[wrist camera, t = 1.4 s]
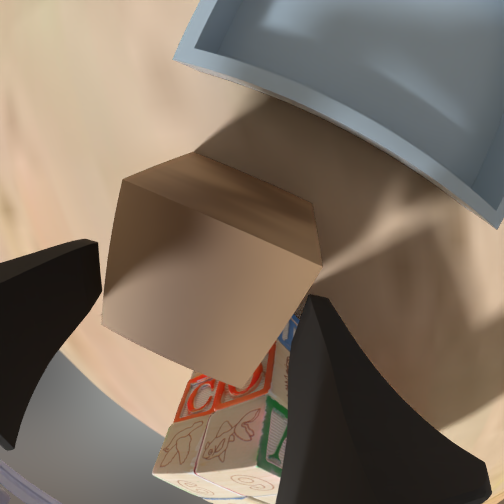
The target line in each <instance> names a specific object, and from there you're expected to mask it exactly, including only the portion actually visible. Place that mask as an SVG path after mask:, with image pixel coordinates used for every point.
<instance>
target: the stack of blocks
mask: <svg viewBox="0 0 504 504" xmlns="http://www.w3.org/2000/svg"><path fill="white" fill-rule="evenodd" d="M299 321H300V320H299V319H298V318H297V317H296V316H295V315H294V314H293V315H292V317H291V318H290V320H289V321H288V323H287V324H286V326H285V328H284V329H283V331H282V332H281V334H280V335H279V337H278V338H277V340H276V341H275V342H274V344H273V345H272V347H271V348H270V350H269V351H268V353H267V354H266V356H265V357H264V359H263V360H262V361H261V363H260V364H259V366H258V367H257V369H256V370H255V371H254V373H253V374H252V376H251V377H250V378H249V380H248V381H247V383H246V384H245V385H244V387H243V388H242V389H240V388H237V387H234V386H232V385H229V384H226V383H224V382H221V381H219V380H216V379H214V378H211V377H209V376H206V375H204V374H201V373H199V372H196V371H194V370H193V373H192V376H191V380H189V381H188V383H187V386H186V389H185V391H184V394H183V397H182V399H181V402H180V404H179V407H178V410H177V413H176V416H175V419H174V423H173V424H172V425H171V426H170V427H169V429H168V432H167V435H166V437H165V440H164V443H163V445H162V448H161V450H160V453H159V455H158V458H157V461H156V463H155V466H154V468H153V472H152V474H153V475H154V476H156V477H157V478H160V479H161V480H164V481H165V482H167V483H169V484H172V485H174V486H176V487H178V488H180V489H182V490H185V491H186V492H189V493H191V494H193V495H196V496H199V497H202V499H204V500H206V501H209V502H211V503H214V504H275V503H276V498H277V493H278V488H279V483H280V478H281V472H282V467H283V460H284V454H285V447H286V440H287V420H288V365H289V357H290V350H291V342H292V339H293V337H294V334H295V331H296V329H297V326H298V323H299Z"/></svg>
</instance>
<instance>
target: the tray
mask: <svg viewBox="0 0 504 504" xmlns="http://www.w3.org/2000/svg"><path fill="white" fill-rule="evenodd" d="M172 60H175V61H177V62H179V63H182V64H184V65H186V66H189V67H191V68H193V69H195V70H198V71H200V72H204V73H207V74H210V75H213V76H217V77H220V78H223V79H226V80H229V81H232V82H235V83H238V84H241V85H243V86H246V87H249V88H252V89H254V90H257V91H260V92H262V93H265V94H267V95H270V96H272V97H275V98H277V99H280V100H282V101H284V102H287V103H289V104H291V105H294V106H296V107H298V108H301V109H303V110H305V111H307V112H309V113H312V114H314V115H316V116H318V117H320V118H322V119H324V120H326V121H328V122H330V123H332V124H334V125H336V126H338V127H340V128H342V129H344V130H346V131H348V132H350V133H352V134H353V135H355V136H357V137H359V138H361V139H363V140H364V141H366V142H368V143H370V144H371V145H373V146H375V147H377V148H378V149H380V150H382V151H384V152H385V153H387V154H389V155H390V156H392V157H393V158H395V159H397V160H398V161H400V162H401V163H403V164H405V165H406V166H408V167H409V168H411V169H412V170H414V171H415V172H417V173H418V174H420V175H421V176H423V177H424V178H426V179H427V180H429V181H430V182H431V183H433V184H434V185H436V186H437V187H439V188H440V189H441V190H443V191H444V192H445V193H447V194H448V195H449V196H451V197H452V198H453V199H455V200H456V201H457V202H459V203H460V204H461V205H463V206H464V207H465V208H467V209H468V210H470V211H471V212H473V213H474V214H475V215H477V216H478V217H480V218H481V219H483V220H484V221H486V222H487V223H488V224H490V225H491V226H492V227H494V228H495V229H498V227H499V226H500V224H501V222H502V220H503V218H504V0H200V2H199V4H198V6H197V8H196V10H195V12H194V14H193V16H192V18H191V20H190V22H189V24H188V26H187V28H186V30H185V32H184V35H183V37H182V39H181V41H180V43H179V46H178V48H177V50H176V52H175V55H174V57H173V59H172Z"/></svg>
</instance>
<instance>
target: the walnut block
mask: <svg viewBox="0 0 504 504" xmlns="http://www.w3.org/2000/svg"><path fill="white" fill-rule="evenodd" d="M322 267H323V265H322V258H321V252H320V246H319V239H318V233H317V228H316V222H315V216H314V211H313V205H312V203H310V202H308V201H306V200H304V199H302V198H300V197H298V196H295V195H293V194H291V193H289V192H287V191H285V190H282V189H280V188H278V187H276V186H274V185H271V184H269V183H267V182H265V181H262V180H260V179H258V178H255V177H253V176H251V175H248V174H246V173H244V172H241V171H239V170H237V169H234V168H232V167H230V166H227V165H225V164H222V163H220V162H217V161H215V160H212V159H210V158H207V157H205V156H202V155H200V154H197V153H195V152H191V153H188V154H186V155H183V156H180V157H177V158H175V159H172V160H169V161H167V162H164V163H161V164H159V165H156V166H154V167H151V168H149V169H146V170H144V171H141V172H139V173H136V174H134V175H132V176H129V177H127V178H125V179H123V180H122V184H121V189H120V193H119V198H118V203H117V208H116V213H115V218H114V223H113V229H112V235H111V241H110V247H109V254H108V261H107V269H106V277H105V286H104V296H103V307H102V321H101V325H103V326H104V327H106V328H108V329H110V330H111V331H113V332H115V333H117V334H119V335H121V336H123V337H124V338H126V339H128V340H130V341H132V342H134V343H136V344H138V345H140V346H142V347H144V348H146V349H148V350H150V351H152V352H154V353H156V354H158V355H161V356H163V357H165V358H167V359H169V360H171V361H173V362H176V363H178V364H180V365H182V366H185V367H187V368H189V369H192V370H194V371H196V372H199V373H201V374H204V375H206V376H209V377H211V378H214V379H216V380H219V381H221V382H224V383H226V384H229V385H232V386H234V387H237V388H240V389H242V388H243V387H244V385H245V384H246V383H247V381H248V380H249V378H250V377H251V376H252V374H253V373H254V371H255V370H256V369H257V367H258V366H259V364H260V363H261V361H262V360H263V359H264V357H265V356H266V354H267V353H268V351H269V350H270V348H271V347H272V345H273V344H274V342H275V341H276V340H277V338H278V337H279V335H280V334H281V332H282V331H283V329H284V328H285V326H286V324H287V323H288V321H289V320H290V318H291V317H292V315H293V314H294V312H295V311H296V309H297V308H298V306H299V304H300V303H301V301H302V300H303V298H304V297H305V295H306V293H307V292H308V290H309V289H310V287H311V285H312V284H313V282H314V280H315V279H316V277H317V276H318V274H319V272H320V271H321V269H322Z"/></svg>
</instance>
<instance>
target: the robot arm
mask: <svg viewBox="0 0 504 504" xmlns="http://www.w3.org/2000/svg"><path fill="white" fill-rule="evenodd" d="M101 292H102V284H101V274H100V263H99V250H98V242H95V241H91V240H88V239H80V240H75V241H71V242H67V243H64V244H60V245H57V246H54V247H51V248H47V249H44V250H41V251H38V252H35V253H32V254H29V255H25V256H22V257H19V258H16V259H12V260H9V261H6V262H2V263H0V445H1V446H2V447H3V448H4V449H5V450H13V449H14V448H15V443H16V439H17V436H18V432H19V429H20V425H21V422H22V419H23V416H24V413H25V411H26V408H27V406H28V403H29V401H30V398H31V396H32V394H33V392H34V390H35V388H36V386H37V384H38V382H39V380H40V378H41V376H42V374H43V373H44V371H45V369H46V368H47V365H48V364H49V362H50V361H51V359H52V358H53V356H54V355H55V354H56V352H57V351H58V350H59V349H60V347H61V346H62V345H63V344H64V342H65V341H66V340H67V339H68V337H69V336H70V335H71V334H72V332H73V331H74V330H75V329H76V328H77V326H78V325H79V324H80V323H81V321H82V320H83V319H84V318H85V317H86V315H87V314H88V313H89V312H90V310H91V308H92V307H93V305H94V304H95V302H96V301H97V299H98V297H99V296H100V294H101ZM0 484H2V485H3V486H4V487H5V488H6V489H8V490H9V491H10V492H11V493H13V494H14V495H15V496H16V497H18V498H19V499H20V500H22V501H23V502H24V503H26V504H63V503H61V502H59V501H58V500H56V499H55V498H53V497H51V496H50V495H48V494H47V493H45V492H44V491H42V490H41V489H39V488H38V487H36V486H35V485H33V484H32V483H31V482H29V481H28V480H26V479H25V478H23V477H22V476H21V475H20V474H18V473H17V472H16V471H14V470H13V469H12V468H11V467H10V466H8V465H7V464H6V463H4V462H3V461H2V460H1V459H0ZM491 494H492V490H491V485H490V481H489V476H488V472H487V468H486V464H485V462H483V461H482V460H480V459H478V458H477V457H475V456H474V455H472V454H470V453H469V452H467V451H465V450H464V449H462V448H461V447H459V446H458V445H456V444H455V443H453V442H452V441H450V440H449V439H448V438H447V437H445V436H444V435H443V434H441V433H440V432H439V431H437V430H436V429H435V428H434V427H432V426H431V425H430V424H429V423H428V422H426V421H425V420H424V419H423V418H422V417H421V416H420V415H419V414H418V413H417V412H416V411H414V410H413V409H412V408H411V407H410V406H409V405H408V404H407V403H406V402H405V401H404V400H403V399H402V398H401V397H400V396H399V395H398V394H397V393H396V392H395V390H394V389H393V388H392V387H391V386H390V385H389V384H388V383H387V381H386V380H385V379H384V378H383V377H382V376H381V374H380V373H379V372H378V371H377V370H376V368H375V367H374V366H373V364H372V363H371V362H370V360H369V359H368V358H367V356H366V355H365V354H364V352H363V351H362V349H361V348H360V347H359V345H358V344H357V342H356V341H355V339H354V338H353V336H352V335H351V333H350V332H349V330H348V329H347V327H346V326H345V324H344V323H343V321H342V319H341V318H340V316H339V315H338V313H337V312H336V310H335V308H334V307H333V305H332V304H331V302H330V301H329V299H328V298H325V297H320V296H315V295H311V294H309V295H308V298H307V301H306V304H305V307H304V309H303V312H302V315H301V318H300V321H299V323H298V326H297V329H296V331H295V334H294V337H293V339H292V342H291V350H290V357H289V365H288V420H287V440H286V447H285V454H284V460H283V467H282V472H281V478H280V483H279V488H278V493H277V498H276V503H275V504H482V503H483V502H484V501H486V500H487V499H488V498H489V497H490V496H491ZM9 501H10V496H9V495H8V494H7V493H6V491H5V490H4V489H3V488H2V487H0V504H8V503H9Z"/></svg>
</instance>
